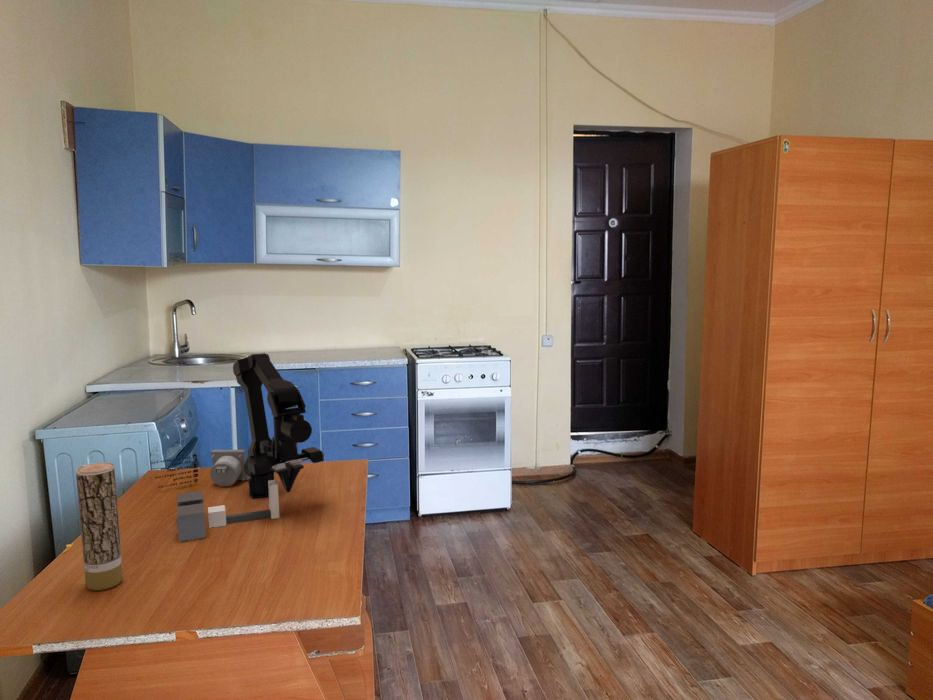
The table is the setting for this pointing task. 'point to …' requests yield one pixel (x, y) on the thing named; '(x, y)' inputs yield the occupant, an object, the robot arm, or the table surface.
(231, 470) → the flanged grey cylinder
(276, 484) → the grey rod with blocks
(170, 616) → the table surface
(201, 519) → the block
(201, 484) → the table surface
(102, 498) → the wooden log
